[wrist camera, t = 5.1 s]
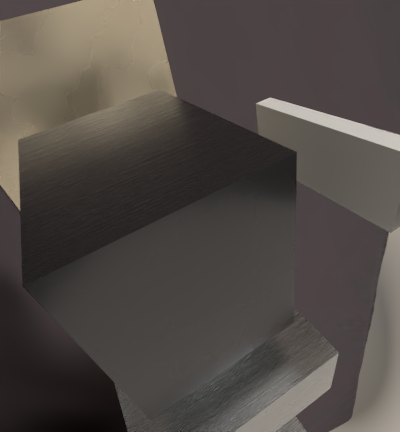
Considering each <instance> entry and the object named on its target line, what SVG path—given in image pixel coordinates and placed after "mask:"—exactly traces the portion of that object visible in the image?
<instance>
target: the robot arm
mask: <svg viewBox="0 0 400 432" xmlns="http://www.w3.org/2000/svg"><path fill="white" fill-rule="evenodd" d="M256 111H257V124H258V135H261V136H263V137H265V138H267V139H269V140H272V141H274V142H276V143H278V144H280V145H283V146H285V147H287V148H289V149H291V150H294V151H296V152H297V175H296V180H297V181H298V182H300V183H302V184H304V185H306V186H307V187H309V188H311V189H313V190H315V191H316V192H318V193H320V194H322V195H324V196H325V197H327V198H329V199H331V200H333V201H334V202H336V203H338V204H340V205H342V206H343V207H345V208H347V209H349V210H350V211H352V212H354V213H356V214H358V215H359V216H361V217H363V218H365V219H367V220H368V221H370V222H372V223H374V224H376V225H377V226H379V227H381V228H383V229H385V230H386V231H388V232H390V233H391V232H392V231H394V230H395V229H397V228H398V227H400V134H395V133H393V132H390V131H384V130H383V129H379V128H376V127H372V126H368V125H363V124H360V123H356V122H353V121H350V120H346V119H343V118H339V117H336V116H332V115H329V114H325V113H322V112H318V111H315V110H312V109H308V108H305V107H301V106H298V105H294V104H291V103H287V102H284V101H281V100H277V99H274V98H268V99H266V100H263V101H261V102H258V103H256Z"/></svg>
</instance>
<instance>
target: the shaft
mask: <svg viewBox="0 0 400 432" xmlns="http://www.w3.org/2000/svg"><path fill="white" fill-rule="evenodd" d="M18 153H19V185H20V216H21V248H22V279H23V287H24V288H25V289H26V290H27V291H28V292H29V293H30V294H31V296H32V297H33V298H34V299H35V300H36V301H37V302H38V303H39V304H40V305H41V306H42V307H43V308H44V309H45V310H46V311H47V312H48V313H49V314H50V316H51V317H52V318H53V319H54V320H55V321H56V322H57V323H58V324H59V325H60V326H61V327H62V328H63V329H64V330H65V331H66V332H67V333H68V334H69V335H70V337H71V338H72V339H73V340H74V341H75V342H76V343H77V344H78V345H79V346H80V347H81V348H82V349H83V350H84V351H85V352H86V353H87V354H88V355H89V356H90V358H91V359H92V360H93V361H94V362H95V363H96V364H97V365H98V366H99V367H100V368H101V369H102V370H103V371H104V372H105V373H106V374H107V375H108V376H109V377H110V379H111V380H112V381H113V382H114V383H115V384H116V385H117V386H118V387H119V388H120V389H121V390H122V391H123V392H124V393H125V394H126V395H127V396H128V397H129V398H130V400H131V401H132V402H133V403H134V404H135V405H136V406H137V407H138V408H139V409H140V410H141V411H142V412H143V413H144V414H145V415H146V416H147V417H148V418H149V419H150V420H152V419H153V418H155V417H156V416H158V415H159V414H161V413H162V412H164V411H165V410H167V409H168V408H169V407H171V406H172V405H174V404H175V403H177V402H178V401H180V400H181V399H183V398H184V397H186V396H187V395H188V394H190V393H191V392H193V391H194V390H196V389H197V388H199V387H200V386H202V385H203V384H205V383H206V382H207V381H209V380H210V379H212V378H213V377H215V376H216V375H218V374H219V373H221V372H222V371H224V370H225V369H226V368H228V367H229V366H231V365H232V364H234V363H235V362H237V361H238V360H240V359H241V358H242V357H244V356H245V355H247V354H248V353H250V352H251V351H253V350H254V349H256V348H257V347H259V346H260V345H261V344H263V343H264V342H266V341H267V340H269V339H270V338H272V337H273V336H275V335H276V334H278V333H279V332H280V331H282V330H283V329H285V328H286V327H288V326H289V325H291V324H292V323H294V299H295V237H296V175H297V152H296V151H294V150H291V149H289V148H287V147H285V146H283V145H280V144H278V143H276V142H274V141H272V140H269V139H267V138H265V137H263V136H261V135H258V134H256V133H254V132H252V131H250V130H247V129H245V128H243V127H241V126H239V125H236V124H234V123H232V122H230V121H228V120H225V119H223V118H221V117H219V116H217V115H214V114H212V113H210V112H208V111H206V110H204V109H201V108H199V107H197V106H195V105H193V104H190V103H188V102H186V101H184V100H182V99H179V98H177V97H175V96H173V95H171V94H168V93H166V92H164V91H162V90H160V89H158V90H156V91H153V92H150V93H147V94H144V95H142V96H139V97H136V98H133V99H131V100H128V101H125V102H122V103H119V104H117V105H114V106H111V107H108V108H106V109H103V110H100V111H97V112H94V113H92V114H89V115H86V116H83V117H80V118H78V119H75V120H72V121H69V122H67V123H64V124H61V125H58V126H55V127H53V128H50V129H47V130H44V131H42V132H39V133H36V134H33V135H30V136H28V137H25V138H22V139H19V140H18Z"/></svg>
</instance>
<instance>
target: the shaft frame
mask: <svg viewBox="0 0 400 432" xmlns="http://www.w3.org/2000/svg"><path fill="white" fill-rule="evenodd" d="M158 89H160V90H162V91H164V92H166V93H168V94H171V95H173V96H175V97H177V96H176V92H175V88H174V84H173V80H172V75H171V71H170V67H169V63H168V59H167V55H166V51H165V46H164V42H163V38H162V34H161V30H160V26H159V22H158V17H157V13H156V9H155V5H154V1H153V0H82V1H78V2H75V3H71V4H67V5H63V6H59V7H55V8H51V9H47V10H43V11H39V12H35V13H31V14H27V15H23V16H19V17H15V18H11V19H7V20H3V21H0V185H1V186H2V188H3V189H4V190H5V192H6V193H7V194H8V196H9V197H10V198H11V200H12V201H13V202H14V203H15V205H16V206H17V207H18V209H19V210H20V185H19V153H18V140H19V139H22V138H25V137H28V136H30V135H33V134H36V133H39V132H42V131H44V130H47V129H50V128H53V127H55V126H58V125H61V124H64V123H67V122H69V121H72V120H75V119H78V118H80V117H83V116H86V115H89V114H92V113H94V112H97V111H100V110H103V109H106V108H108V107H111V106H114V105H117V104H119V103H122V102H125V101H128V100H131V99H133V98H136V97H139V96H142V95H144V94H147V93H150V92H153V91H156V90H158ZM337 358H338V352H337V351H336V350H335V349H334V348H333V347H332V346H331V345H330V344H329V343H328V342H327V341H326V340H325V339H324V337H323V336H322V335H321V334H320V333H319V332H318V331H317V330H316V329H315V328H314V327H313V326H312V325H311V324H310V323H309V322H308V321H307V320H306V319H305V318H304V317H303V316H302V315H301V314H300V313H299V312H298V311H297V310H296V309H295V308H294V323H292V324H291V325H289V326H288V327H286V328H285V329H283V330H282V331H280V332H279V333H278V334H276V335H275V336H273V337H272V338H270V339H269V340H267V341H266V342H264V343H263V344H261V345H260V346H259V347H257V348H256V349H254V350H253V351H251V352H250V353H248V354H247V355H245V356H244V357H242V358H241V359H240V360H238V361H237V362H235V363H234V364H232V365H231V366H229V367H228V368H226V369H225V370H224V371H222V372H221V373H219V374H218V375H216V376H215V377H213V378H212V379H210V380H209V381H207V382H206V383H205V384H203V385H202V386H200V387H199V388H197V389H196V390H194V391H193V392H191V393H190V394H188V395H187V396H186V397H184V398H183V399H181V400H180V401H178V402H177V403H175V404H174V405H172V406H171V407H169V408H168V409H167V410H165V411H164V412H162V413H161V414H159V415H158V416H156V417H155V418H153V419H152V420H150V419H149V418H148V417H147V416H146V415H145V414H144V413H143V412H142V411H141V410H140V409H139V408H138V407H137V406H136V405H135V404H134V403H133V402H132V401H131V400H130V398H129V397H128V396H127V395H126V394H125V393H124V392H123V391H122V390H121V389H120V388H119V387H118V386H117V385H116V384H115V383H114V384H115V388H116V391H117V395H118V398H119V402H120V406H121V409H122V413H123V416H124V420H125V424H126V427H127V431H128V432H306V430H305V429H304V427H303V426H302V425H301V423H300V422H299V420H298V419H297V418H296V415H297V414H298V413H300V412H301V411H302V410H303V409H305V408H306V407H307V406H308V405H310V404H311V403H312V402H313V401H315V400H316V399H317V398H318V397H320V396H321V395H322V394H324V393H325V392H326V391H327V390H329V389H330V388H331V384H332V380H333V375H334V371H335V367H336V362H337Z"/></svg>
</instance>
